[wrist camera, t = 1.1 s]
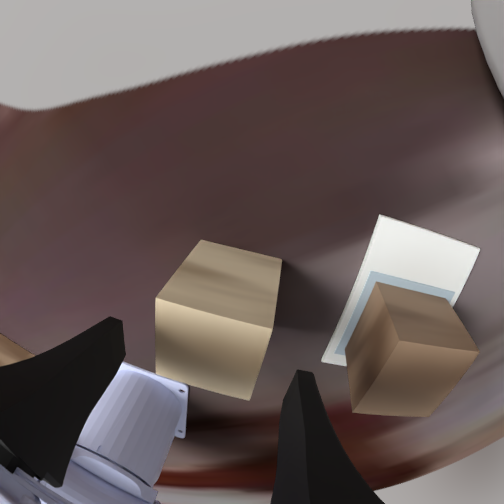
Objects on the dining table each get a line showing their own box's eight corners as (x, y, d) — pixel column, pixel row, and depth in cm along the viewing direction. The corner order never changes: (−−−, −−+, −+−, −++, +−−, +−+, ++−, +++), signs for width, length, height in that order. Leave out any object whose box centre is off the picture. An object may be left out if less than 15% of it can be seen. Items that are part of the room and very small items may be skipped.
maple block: (264, 324, 18) (249, 400, 13) (193, 305, 18) (156, 374, 13) (282, 259, 16) (272, 328, 11) (201, 239, 16) (155, 297, 11)
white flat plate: (410, 372, 18) (411, 375, 18) (321, 358, 18) (321, 362, 18) (477, 247, 14) (481, 250, 14) (379, 214, 14) (381, 216, 14)
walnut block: (410, 359, 17) (428, 416, 13) (344, 349, 17) (352, 412, 13) (445, 298, 15) (479, 352, 11) (375, 281, 15) (399, 340, 11)
